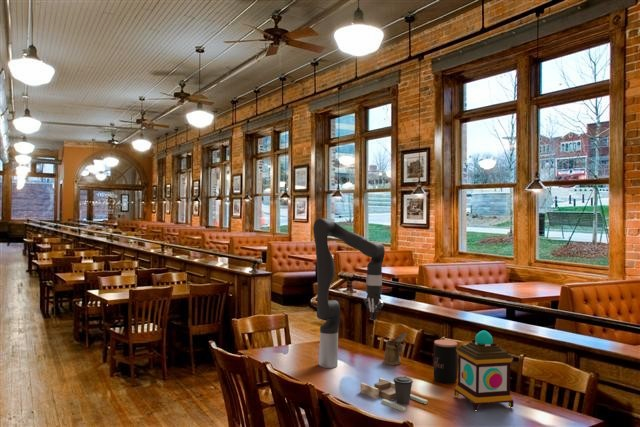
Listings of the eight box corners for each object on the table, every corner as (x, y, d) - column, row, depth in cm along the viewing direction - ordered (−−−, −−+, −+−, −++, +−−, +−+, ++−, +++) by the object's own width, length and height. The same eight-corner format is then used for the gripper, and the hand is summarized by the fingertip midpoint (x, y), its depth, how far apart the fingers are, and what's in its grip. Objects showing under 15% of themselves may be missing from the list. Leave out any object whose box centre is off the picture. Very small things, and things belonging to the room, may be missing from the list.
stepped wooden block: (360, 392, 219) (360, 383, 219) (380, 386, 227) (380, 377, 227) (376, 399, 212) (376, 389, 212) (397, 392, 219) (397, 383, 219)
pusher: (374, 394, 217) (374, 383, 217) (385, 390, 221) (385, 380, 221) (389, 400, 209) (389, 389, 209) (401, 397, 214) (401, 386, 214)
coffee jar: (430, 377, 242) (431, 339, 242) (452, 376, 243) (452, 339, 243) (437, 384, 231) (438, 345, 231) (460, 384, 232) (460, 345, 232)
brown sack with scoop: (397, 368, 254) (398, 333, 254) (379, 362, 265) (380, 327, 265) (410, 366, 259) (411, 331, 259) (392, 359, 270) (392, 326, 270)
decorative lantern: (449, 395, 217) (450, 326, 217) (491, 392, 221) (492, 324, 222) (474, 413, 198) (475, 337, 198) (518, 410, 202) (519, 335, 202)
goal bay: (381, 402, 208) (381, 399, 208) (405, 394, 217) (405, 392, 217) (403, 411, 198) (403, 408, 198) (427, 403, 207) (427, 400, 207)
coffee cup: (411, 398, 212) (411, 375, 212) (414, 406, 204) (414, 381, 204) (392, 398, 213) (392, 374, 213) (393, 405, 205) (394, 380, 205)
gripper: (359, 282, 246) (358, 318, 246) (378, 286, 236) (377, 323, 236) (370, 281, 251) (369, 316, 251) (389, 285, 240) (388, 321, 241)
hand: (373, 319), depth 243 cm, fingers closed
